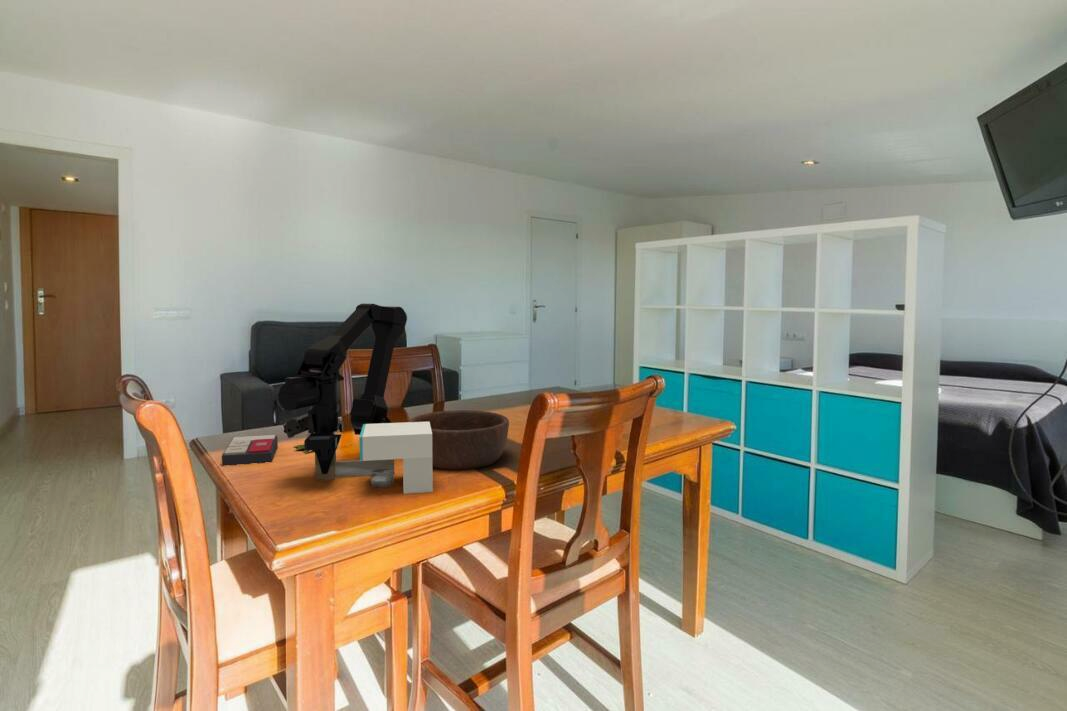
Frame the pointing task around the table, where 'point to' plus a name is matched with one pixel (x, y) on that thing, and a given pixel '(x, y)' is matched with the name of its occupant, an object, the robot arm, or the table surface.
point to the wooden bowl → (465, 438)
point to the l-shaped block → (402, 450)
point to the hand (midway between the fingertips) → (326, 470)
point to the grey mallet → (351, 468)
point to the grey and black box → (250, 450)
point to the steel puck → (382, 478)
